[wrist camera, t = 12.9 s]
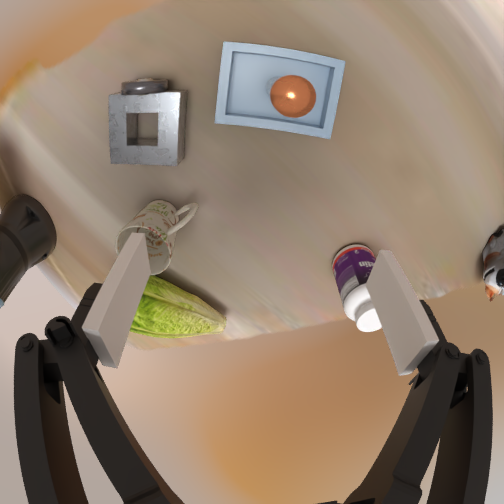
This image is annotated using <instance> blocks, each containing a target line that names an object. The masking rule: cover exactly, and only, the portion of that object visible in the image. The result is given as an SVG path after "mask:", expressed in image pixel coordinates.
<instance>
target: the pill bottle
mask: <svg viewBox="0 0 504 504" xmlns="http://www.w3.org/2000/svg"><path fill="white" fill-rule="evenodd" d="M375 261H376V258H375V256H374V254H373V252H372V251H371V250H370V249H369V248H368V247H366V246H363V245H350V246H347V247H345V248H343V249H342V250H341V251H339V252H338V254H337V255H336V256H335V258H334V260H333V264H332V268H333V273H334V276H335V279H336V283H337V286H338V290H339V293H340V297H341V300H342V304H343V308H344V311H345V313H346V315H347V316H348V317H349V318H350V319H351V320H353V321H355V322H356V325H357V327H358V329H359V330H361V331H365V332H372V331H376V330H378V329H380V328H382V326H381V323H380V320H379V318H378V315H377V313H376V310H375V308H374V305H373V303H372V300H371V298H370V295H369V293H368V290H367V288H366V286H365V285H366V283H367V280H368V278H369V276H370V273H371V271H372V268H373V266H374V263H375Z"/></svg>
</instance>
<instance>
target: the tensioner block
mask: <svg viewBox="0 0 504 504" xmlns="http://www.w3.org/2000/svg"><path fill="white" fill-rule="evenodd" d="M167 85H168V80H152V78H146V79H137V81H130V82H123V83H122V88H121V92H119V93H115V94H111V95H109V141H110V158H111V164H144V165H166V166H177V165H178V164H179V163H180V162H181V160H182V159H183V158H184V141H185V121H186V105H187V92H188V90H167ZM137 113H159V116H158V139H153V138H137Z"/></svg>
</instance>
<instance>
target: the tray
mask: <svg viewBox="0 0 504 504" xmlns="http://www.w3.org/2000/svg"><path fill="white" fill-rule="evenodd" d="M344 67H345V61H342V60H338V59H334V58H330V57H326V56H322V55H318V54H313V53H308V52H303V51H298V50H292V49H286V48H280V47H273V46H266V45H258V44H248V43H236V42H224V43H223V51H222V59H221V67H220V76H219V85H218V94H217V104H216V115H215V123H219V124H230V125H241V126H250V127H258V128H266V129H273V130H280V131H287V132H293V133H299V134H305V135H310V136H316V137H321V138H326V139H330V138H331V133H332V128H333V124H334V119H335V114H336V109H337V104H338V99H339V94H340V89H341V83H342V78H343V72H344ZM286 75H297V76H301V77H303V78H305V79H307V80H308V81H309V82H310V83H311V84H312V85H313V87H314V89H315V92H316V102H315V105H314V107H313V109H312V110H311V111H310V112H309V113H308V114H306V115H304V116H302V117H298V118H291V117H286V116H284V115H282V114H280V113H279V112H278V111H277V110H276V109H275V108H274V106H273V105H272V103H271V100H270V96H269V95H268V94H267V92H266V84H267V82H268V81H269V80H270V79H271V78H273V77H283V76H286Z"/></svg>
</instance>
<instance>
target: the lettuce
mask: <svg viewBox="0 0 504 504" xmlns="http://www.w3.org/2000/svg"><path fill="white" fill-rule="evenodd" d="M225 326H226V317H224V316H223V315H222V314H221V313H219V312H218V311H216V310H215V309H213V308H212V307H211V306H210V305H208V304H207V303H206V302H204V301H203V300H201V299H200V298H199V297H197V296H195V295H193V294H191V293H188V292H186V291H184V290H182V289H181V288H179V287H177V286H175V285H173V284H172V283H170V282H168V281H165V280H163V279H161V278H159V277H157V276H155V275H150V276H149V279H148V281H147V284H146V287H145V289H144V292H143V294H142V297H141V300H140V303H139V305H138V308H137V311H136V314H135V316H134V319H133V322H132V325H131V328H130V331H131V332H134V333H138V334H142V335H147V336H151V337H160V338H184V337H192V336H198V335H204V334H218V333H222V332H223V330H224V328H225Z"/></svg>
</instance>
